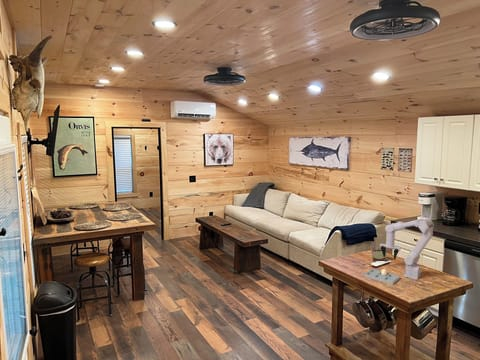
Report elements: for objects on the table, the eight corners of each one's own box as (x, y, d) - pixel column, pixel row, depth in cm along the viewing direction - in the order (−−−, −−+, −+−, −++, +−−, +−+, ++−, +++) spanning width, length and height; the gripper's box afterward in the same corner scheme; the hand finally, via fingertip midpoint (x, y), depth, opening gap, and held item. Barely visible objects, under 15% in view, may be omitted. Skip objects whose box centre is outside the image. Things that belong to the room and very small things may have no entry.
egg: (387, 275, 254) (387, 268, 253) (386, 277, 250) (386, 270, 250) (381, 274, 256) (381, 267, 255) (380, 276, 252) (380, 269, 252)
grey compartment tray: (400, 278, 249) (400, 276, 249) (392, 284, 239) (392, 282, 239) (372, 271, 263) (372, 268, 262) (364, 276, 253) (364, 274, 252)
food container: (384, 259, 287) (385, 247, 286) (387, 261, 281) (387, 249, 280) (369, 258, 288) (369, 247, 287) (371, 261, 282) (371, 249, 281)
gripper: (402, 240, 260) (401, 258, 262) (382, 237, 270) (381, 254, 272) (398, 243, 255) (398, 261, 257) (378, 239, 265) (378, 256, 267)
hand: (389, 257), depth 264 cm, fingers open, 7 cm apart
